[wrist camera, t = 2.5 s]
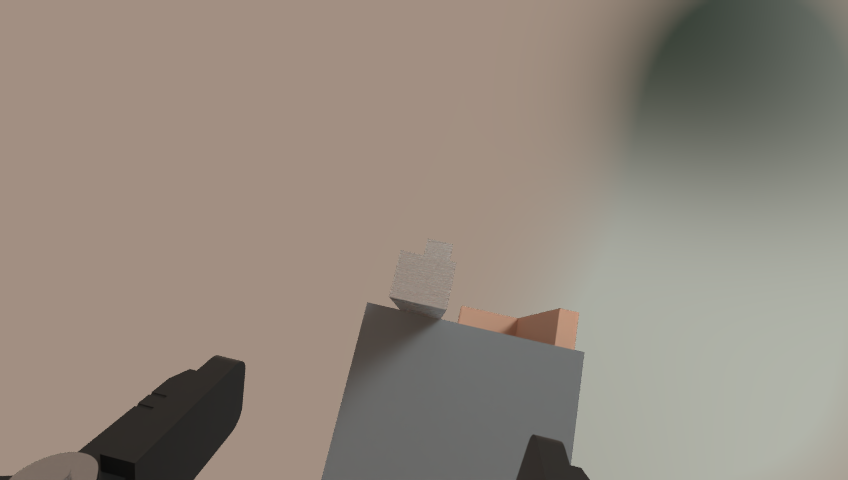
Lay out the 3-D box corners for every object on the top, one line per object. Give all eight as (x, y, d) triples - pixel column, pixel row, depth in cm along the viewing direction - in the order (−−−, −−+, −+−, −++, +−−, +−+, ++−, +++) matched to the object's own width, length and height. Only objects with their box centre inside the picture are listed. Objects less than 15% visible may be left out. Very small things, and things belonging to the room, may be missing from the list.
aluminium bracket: (435, 327, 45) (451, 248, 47) (446, 309, 20) (481, 143, 22) (409, 321, 45) (427, 243, 48) (389, 296, 20) (429, 133, 22)
